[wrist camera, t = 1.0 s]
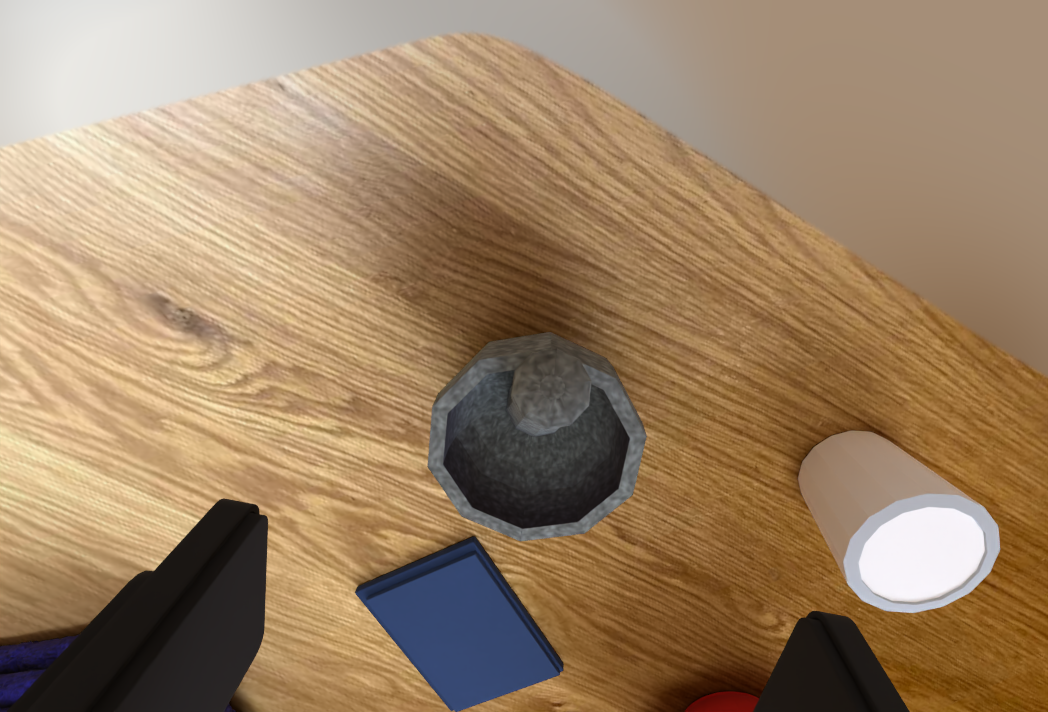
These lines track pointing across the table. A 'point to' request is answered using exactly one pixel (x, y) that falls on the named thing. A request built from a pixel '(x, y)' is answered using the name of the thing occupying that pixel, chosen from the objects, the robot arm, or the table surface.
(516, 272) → the table surface
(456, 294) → the table surface
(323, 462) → the table surface
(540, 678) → the blue flat slab
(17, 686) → the towel
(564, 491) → the mortar and pestle
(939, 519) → the beige tapered cup
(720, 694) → the ceramic cup
